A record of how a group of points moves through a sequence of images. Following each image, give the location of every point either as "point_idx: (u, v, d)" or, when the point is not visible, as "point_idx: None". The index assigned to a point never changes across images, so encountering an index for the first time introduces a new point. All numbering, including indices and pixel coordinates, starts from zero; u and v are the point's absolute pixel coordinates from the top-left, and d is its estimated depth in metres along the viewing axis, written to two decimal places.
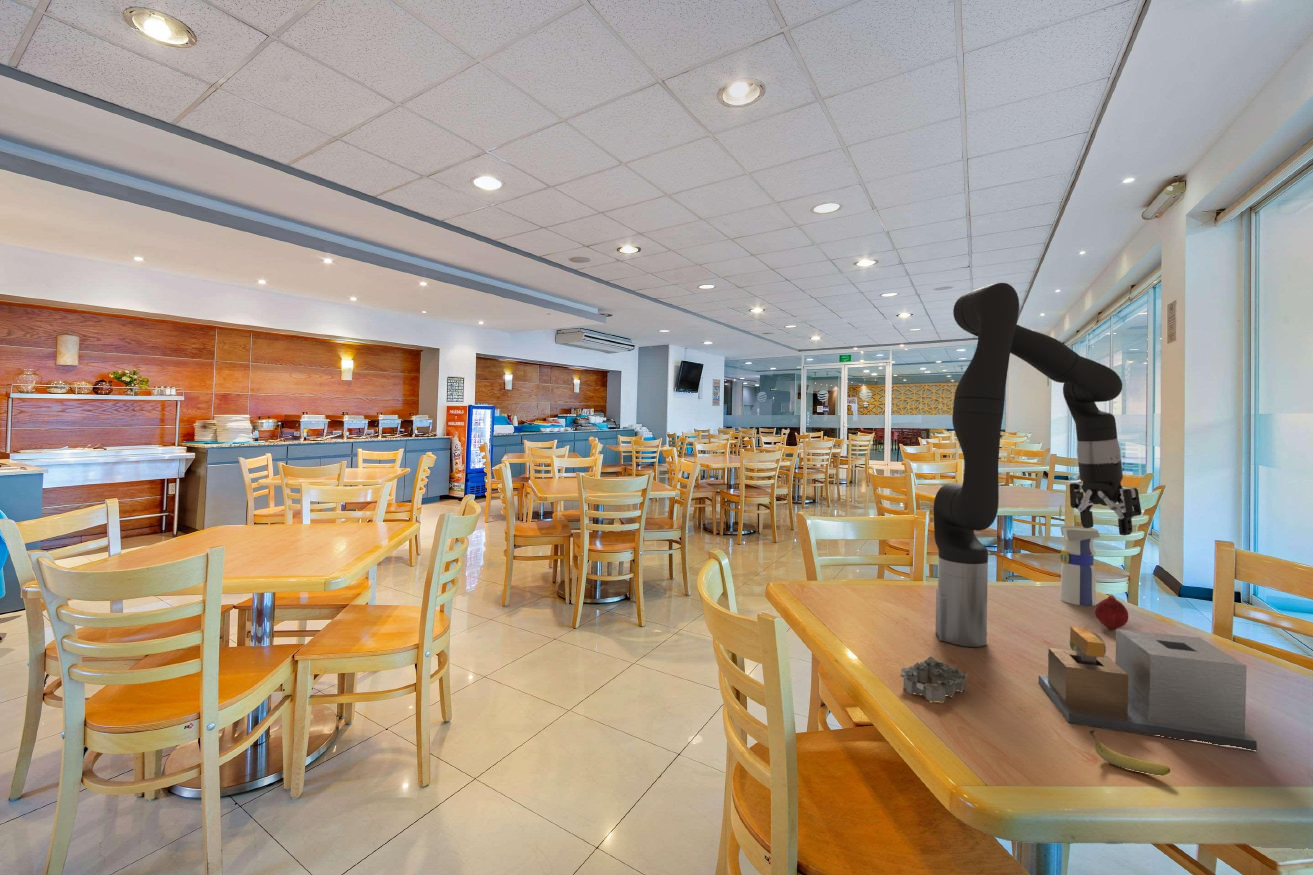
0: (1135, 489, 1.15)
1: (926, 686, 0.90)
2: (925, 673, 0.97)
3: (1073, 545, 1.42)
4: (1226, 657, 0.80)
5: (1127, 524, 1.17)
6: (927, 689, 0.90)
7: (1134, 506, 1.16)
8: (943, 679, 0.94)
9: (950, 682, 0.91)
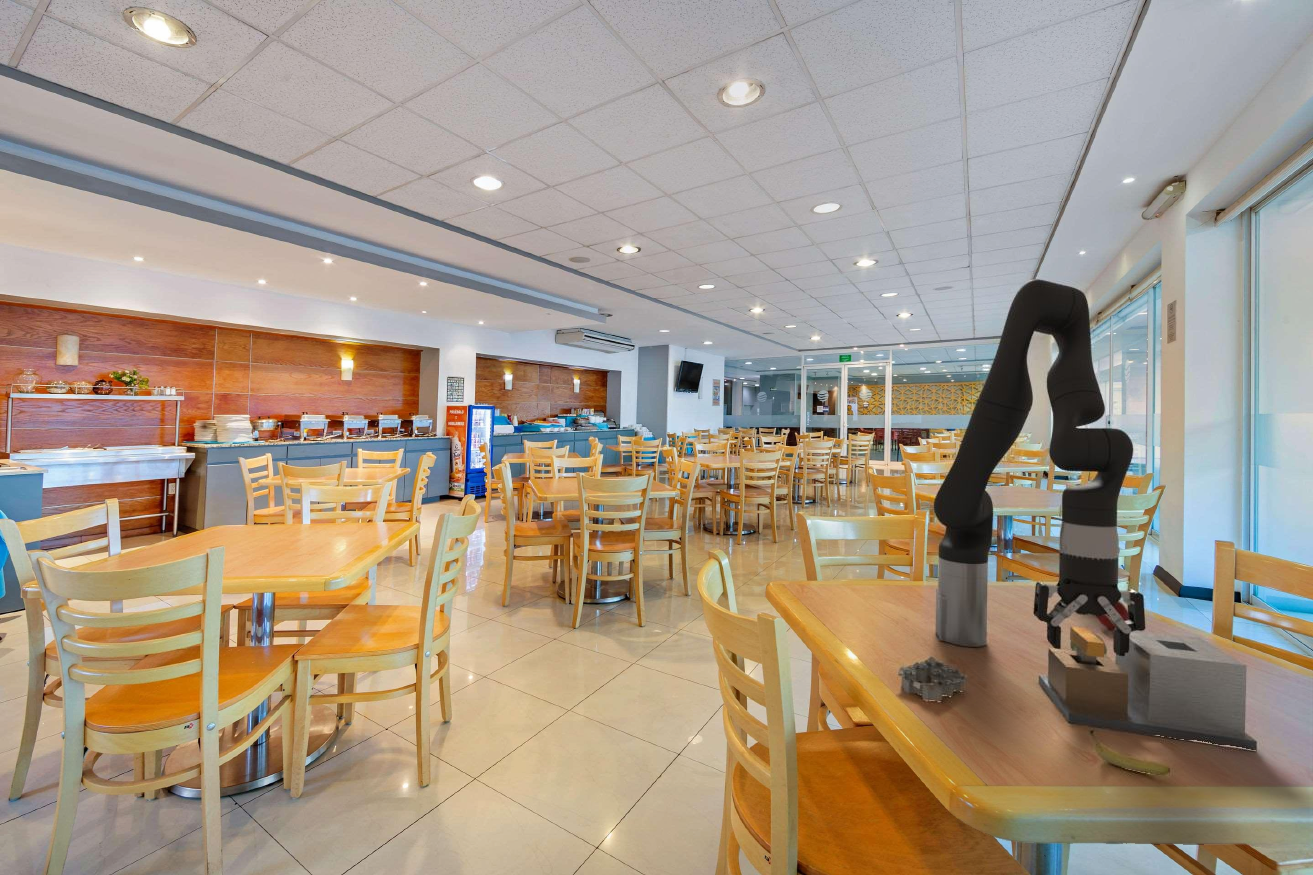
0: (1040, 586, 0.90)
1: (923, 685, 0.90)
2: (924, 672, 0.97)
3: None
4: (1226, 657, 0.80)
5: (1047, 630, 0.90)
6: (923, 688, 0.90)
7: None
8: (942, 679, 0.94)
9: (948, 682, 0.91)
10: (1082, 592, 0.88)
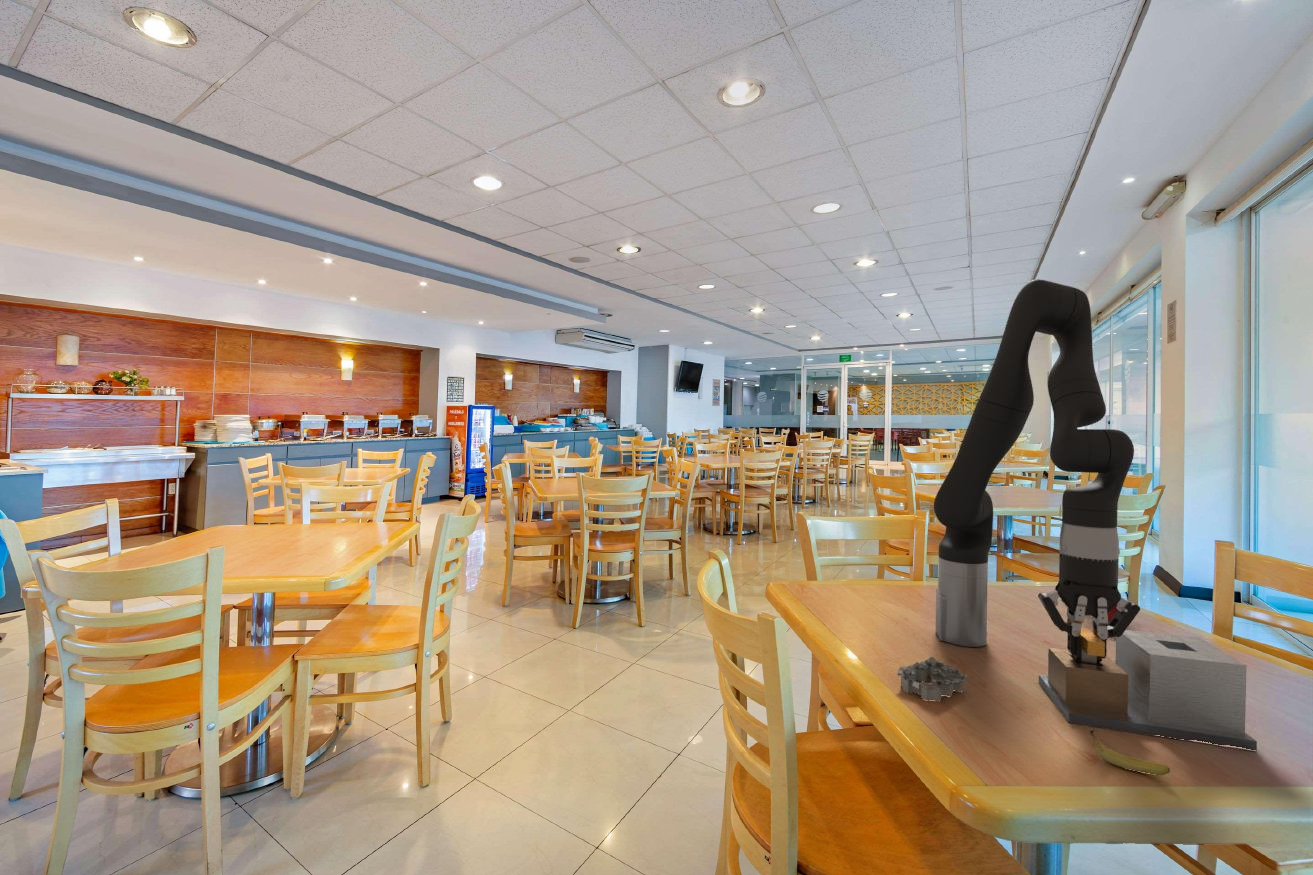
0: (1042, 599, 0.90)
1: (921, 685, 0.90)
2: (924, 672, 0.97)
3: None
4: (1226, 657, 0.80)
5: (1068, 640, 0.90)
6: (922, 688, 0.90)
7: None
8: (941, 679, 0.94)
9: (947, 682, 0.91)
10: (1079, 593, 0.88)
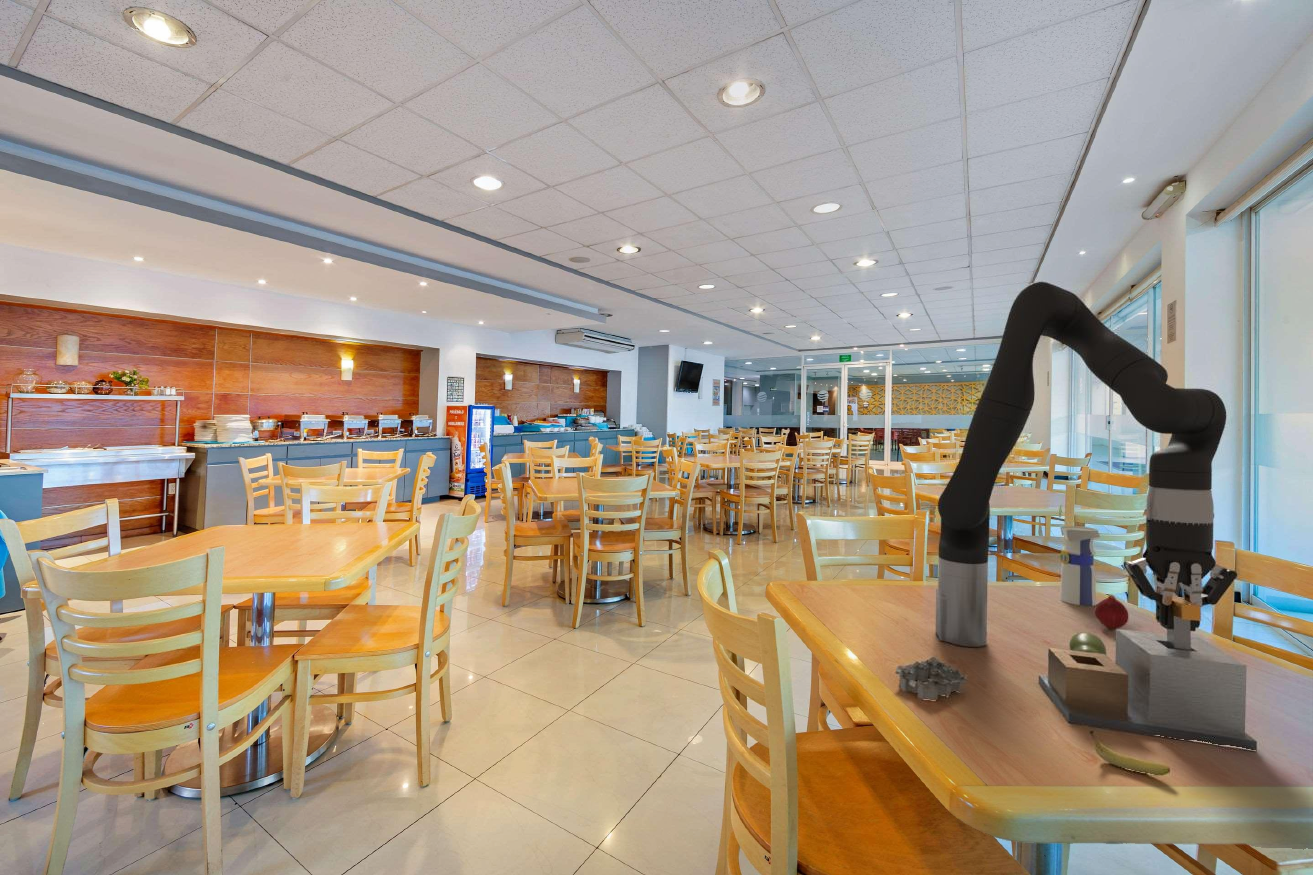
0: (1129, 566, 0.86)
1: (918, 684, 0.91)
2: (924, 672, 0.97)
3: (1073, 545, 1.42)
4: (1226, 657, 0.80)
5: (1156, 609, 0.86)
6: (918, 687, 0.91)
7: None
8: (940, 679, 0.94)
9: (944, 682, 0.91)
10: (1170, 560, 0.84)
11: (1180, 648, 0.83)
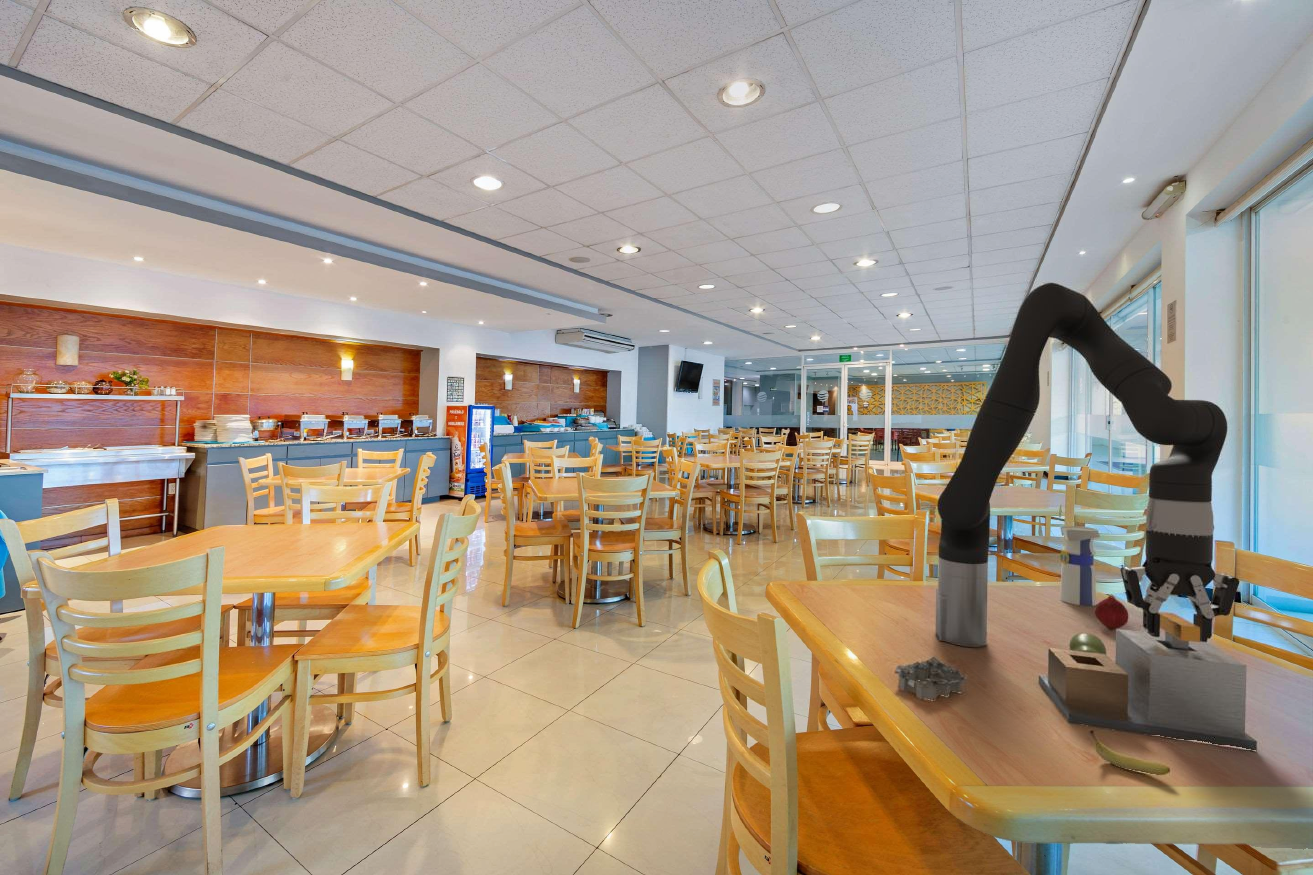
0: (1127, 571, 0.86)
1: (916, 683, 0.91)
2: (924, 672, 0.97)
3: (1073, 545, 1.42)
4: (1226, 657, 0.80)
5: (1144, 617, 0.86)
6: (917, 686, 0.91)
7: None
8: (940, 679, 0.94)
9: (943, 681, 0.91)
10: (1171, 571, 0.84)
11: None
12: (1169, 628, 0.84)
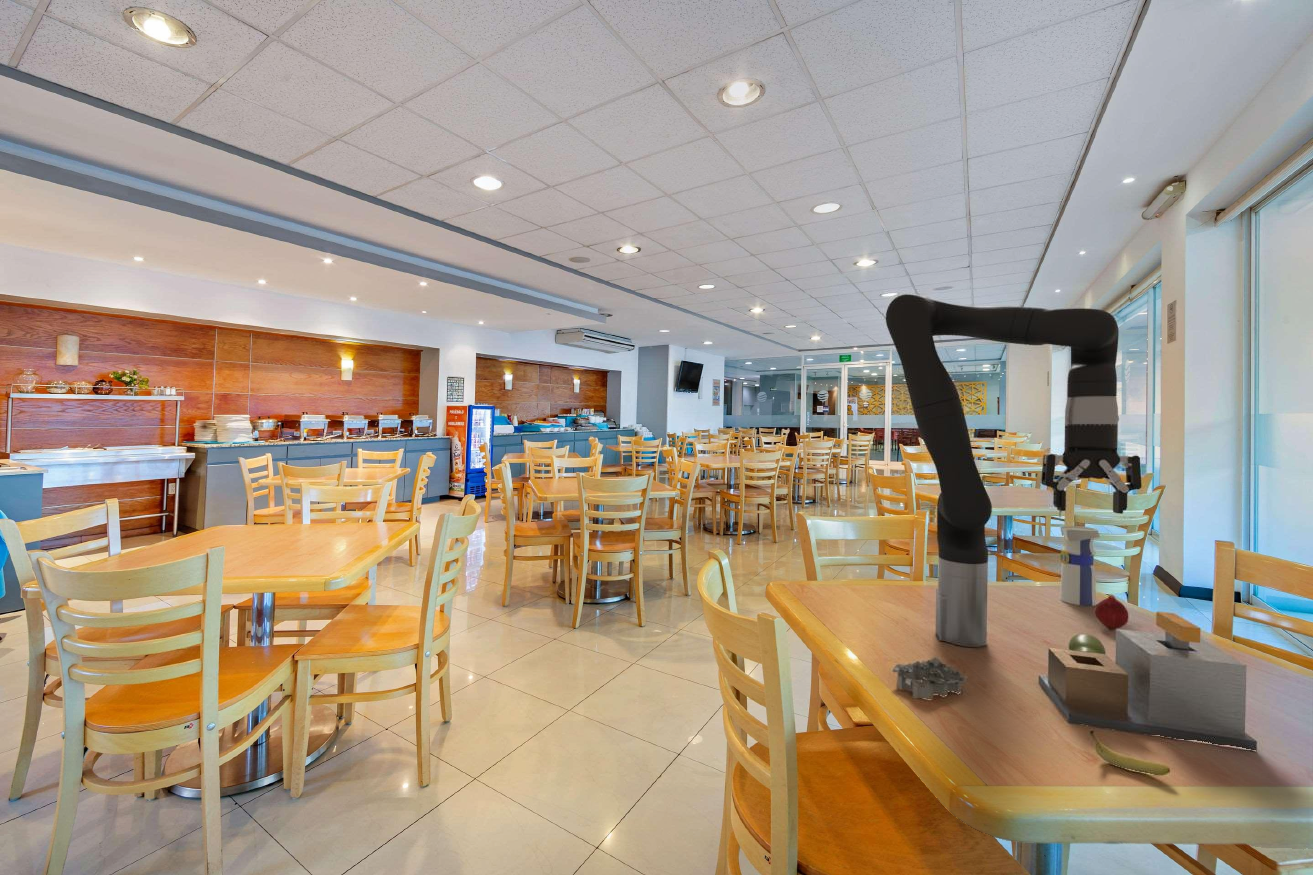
0: (1048, 455, 1.00)
1: (913, 682, 0.91)
2: (924, 672, 0.97)
3: (1073, 545, 1.42)
4: (1226, 657, 0.80)
5: (1053, 496, 1.01)
6: (914, 685, 0.91)
7: None
8: (939, 679, 0.94)
9: (941, 681, 0.91)
10: (1085, 458, 0.98)
11: None
12: (1169, 628, 0.84)
